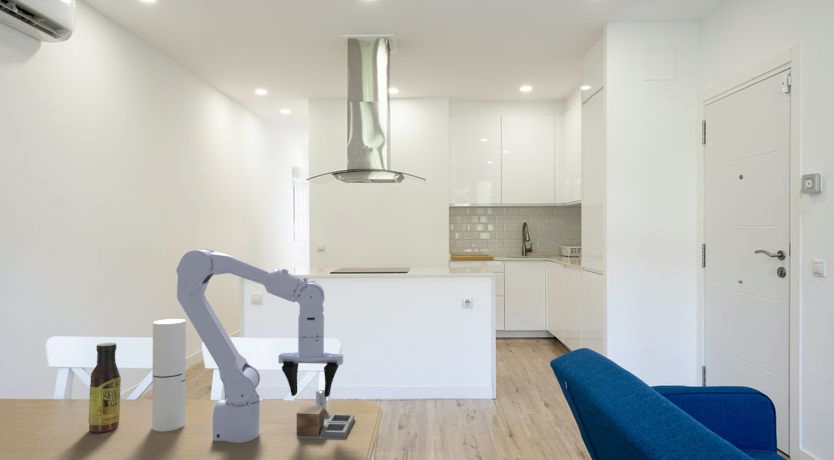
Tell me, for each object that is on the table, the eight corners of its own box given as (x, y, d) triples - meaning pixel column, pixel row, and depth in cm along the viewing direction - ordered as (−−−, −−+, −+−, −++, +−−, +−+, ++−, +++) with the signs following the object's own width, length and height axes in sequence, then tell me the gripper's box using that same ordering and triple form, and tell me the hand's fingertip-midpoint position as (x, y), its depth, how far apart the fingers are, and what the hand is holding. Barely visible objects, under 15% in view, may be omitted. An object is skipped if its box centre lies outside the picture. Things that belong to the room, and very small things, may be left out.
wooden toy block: (296, 435, 116) (296, 413, 116) (303, 427, 121) (303, 405, 121) (318, 436, 116) (318, 414, 116) (324, 428, 121) (324, 406, 121)
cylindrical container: (145, 428, 123) (146, 322, 123) (172, 418, 130) (172, 317, 130) (165, 433, 120) (166, 325, 120) (191, 423, 126) (192, 320, 126)
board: (295, 442, 115) (295, 426, 116) (310, 422, 127) (310, 407, 127) (344, 443, 115) (344, 427, 115) (354, 423, 127) (354, 409, 127)
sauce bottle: (105, 435, 119) (105, 348, 119) (81, 432, 120) (82, 346, 120) (126, 424, 125) (127, 342, 125) (104, 422, 127) (104, 340, 127)
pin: (314, 416, 131) (314, 393, 131) (317, 413, 134) (317, 389, 134) (325, 417, 131) (325, 393, 131) (327, 413, 134) (327, 390, 134)
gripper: (346, 332, 122) (345, 390, 122) (285, 331, 123) (285, 388, 123) (339, 338, 115) (339, 400, 115) (275, 337, 116) (275, 398, 116)
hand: (310, 395), depth 119 cm, fingers open, 7 cm apart
